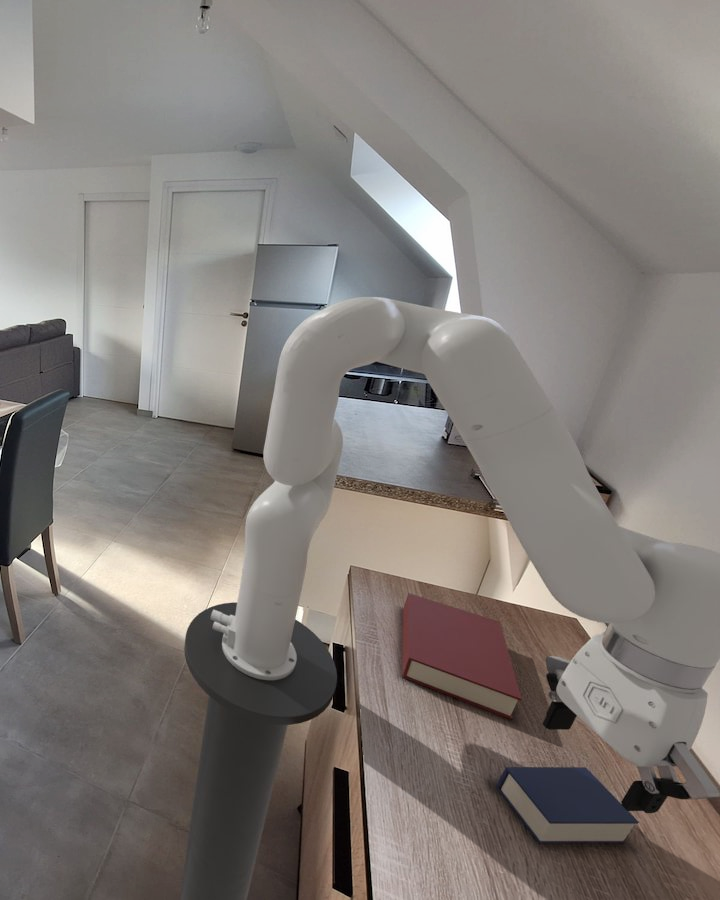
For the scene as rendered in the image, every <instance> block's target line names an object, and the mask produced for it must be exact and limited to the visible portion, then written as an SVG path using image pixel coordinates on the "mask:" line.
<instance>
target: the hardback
mask: <svg viewBox="0 0 720 900" xmlns="http://www.w3.org/2000/svg"><path fill="white" fill-rule="evenodd" d="M401 641H402V649H401V651H402V653H401V655H402V656H401V659H402V660H401V661H402V662H401V666H402V667H401V668H402V669H401V678H403V679H405V680H408V681H409V682H412V683H416V684H418V685H420V686H422V687H426V688H427V689H430V690H433V691H436V692H438V693H441V694H444V695H446V696H449V697H451V698H454V699H456V700H459V701H461V702H464V703H467V704H470V705H472V706H475V707H477V708H479V709H482V710H484V711H488V712H489V713H492V714H495V715H498V716H501V717H502V718H504V719H508V720H510V721H513V712H514V709H515V708H516V706H517V703H518V701H520V702H522V700H523V698H522V694H521V690H520V687H519V684H518V681H517V680H518V679H517V677H516V674H515V669H514V665H513V662H512V659H511V656H510V653H509V648H508V645H507V642H506V638H505V634H504V631H503V628H502V624H501V621H499V620H496V619H493V618H490V617H486V616H484V615H480V614H477V613H473V612H471V611H467V610H464V609H461V608H457V607H454V606H451V605H449V604H445V603H442V602H438V601H435V600H432V599H429V598H425V597H422V596H419V595H415V594H412V593H407V596H406V599H405V602H404V606H403V609H402V639H401Z"/></svg>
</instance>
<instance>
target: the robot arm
mask: <svg viewBox="0 0 720 900" xmlns="http://www.w3.org/2000/svg"><path fill="white" fill-rule="evenodd" d="M279 355H280V356H279V358H278V359H279V360H278V364H277V370H276V376H275V382H274V389H273V395H272V398H271V399H272V400H271V404H270V410H269V415H268V416H269V417H268V423H267V429H266V433H265V442H264V445H263V451H262V453H263V463H264V467H265V469H266V472H267V474H269V476H270V477H271V478H272V479H273V480H274V482H273V483H272V484H270V486H268V487H267V488H266V489H265V490H264V491H263V492H262V493H261V494H260V495H259V496H258V497H257V498H256V499H255V500H254V501H253V504H252V505H251V506H250V508H249V511H248V512H247V514H246V519H245V527H244V531H245V532H244V534H245V537H244V538H245V542H244V543H245V544H244V555H243V563H242V568H241V569H242V570H241V577H240V583H239V589H238V596H237V601H236V602H237V607H236V614H235V616H233V615H230V616H228V615H225V614H223V613H221V612H219V611H216V610H213V611H212V614H211V620H213V621H215V622H214V624H213V628H212V629H214V630H216V631H219V632H222V633H224V635H223V638H222V649H223V652H224V654H225V656H226V658H227V659H228V661H229V662H230V663H231V664H232V665H233V666H234V667H236V668H237V669H238V670H239V671H241V672H243V673H244V674H246V675H249V676H251V677H254V678H257V679H262V680H278V679H282V678H285V677H287V676H288V675H290V674H291V673H292V671H293V670H294V668H295V665H296V660H297V655H296V651H295V648H294V646H293V645H292V643H291V642H290V641H291V637H292V632H293V628H294V623H295V619H296V618H297V613H298V609H299V605H300V600H301V596H302V590H303V585H304V580H305V575H306V571H307V566H308V565H307V563H308V554H309V549H310V546H311V542H312V539H313V536H314V534H315V533H316V531H317V529H319V526H320V524H321V523H322V521H323V520H324V518H325V517H326V514H327V513H328V512H329V511H328V510H329V509H330V506H331V502H332V499H333V493H334V489H335V485H336V481H337V476H338V470H339V466H340V462H341V458H342V457H341V456H342V452H343V447H344V446H343V445H344V437H343V431H342V428H341V426H340V424H339V423H338V421H336V418H335V413H336V410H337V407H338V403H339V396H340V389H341V387H340V386H341V382H342V380H343V378H344V376H345V375H346V374H347V373H348V372H350V371H351V370H354V369H356V368H361V367H365V366H369V365H371V364H374V363H376V362H377V363H380V364H385V365H388V366H391V367H396V368H398V369H402V370H407V371H411V372H414V373H418V374H423V375H424V376H425V378H426V380H427V382H428V384H429V386H430V387H431V389H432V390H433V393H434V394H435V396H436V398H437V399H438V401H439V402H440V404H441V406H442V407H443V410H445V412H446V414H447V415H448V417H449V418H450V420H451V422H452V424H453V425H454V427H455V429H456V431H457V432H458V434H459V435H460V437H461V438H462V439H461V440H462V441H463V443H464V444H465V446H466V448H467V450H468V451H469V452H470V454H471V456H472V458H473V460H474V462H475V463H476V465H477V467H478V469H479V471H480V473H481V475H482V477H483V479H484V481H485V483H486V484H487V486H488V488H489V490H490V492H491V493H492V494H493V496H494V497H495V499H496V501H497V502H498V504H499V506H500V508H501V510H502V512H503V514H504V516H505V517H506V519H507V521H508V523H509V525H510V526H511V529H512V531H513V532H514V534H515V536H516V538H517V540H518V542H519V543H520V545H521V546H522V549H523V550H524V552H525V554H526V555H527V557H528V559H529V560H530V562H531V564H532V565H533V567H534V569H535V570H536V572H537V573H538V575H539V577H540V578H541V581H542V582H543V584H544V585H545V587H546V588H547V590H548V592H549V593H550V595H551V596H552V597H553V599H554V600H556V601H557V602H558V603H559V604H560V605H561V606H562V607H564V608H565V609H566V610H567V611H568V612H571V613H572V614H574V615H577V616H578V617H580V618H583V619H586V620H588V621H592V622H596V623H600V624H601V623H602V624H603V623H604V624H605V626H606V629H605V631H604V633H603V634H600V633H599V634H598V633H597V634H595V635H593V636H592V637H591V638H590V639H589V640H587V642H586V643H584V645H582V647H581V648H580V649H579V650H578V651H577V652H576V653H575V655H573V657H572V659H571V660H570V659H567V658H564V657H561V656H556V655H547V656H546V657H545V664H546V671H547V673H546V676H545V678H546V681H547V684H548V686H549V690H550V691H549V692H548V698H549V700H550V701H551V702H550V704H549V707H548V709H547V711H546V713H545V717H544V719H543V721H542V726H543V727H544V728H545V729H546V730H550V731H551V730H552V731H553V730H554V731H557V730H558V731H559V730H561V731H563V730H565V731H566V730H567V731H568V730H570V729H571V728H572V726H573V724H574V722H575V720H576V718H577V717H578V718H579V719H580V720H581V721H582V722H583V723H584V724H585V725H586V726H588V728H590V729H591V730H592V731H593V732H594V733H595V734H596V735H597V736H598V737H599V738H601V739H602V740H603V741H604V742H605V743H606V744H607V745H608V746H609V747H610V748H611V749H612V750H614V751H615V752H616V753H617V754H618V755H619V756H620V757H622V758H623V759H624V760H626V761H627V762H629V763H630V764H632V765H634V766H635V767H636V768H637V770H638V773H639V777H640V780H633V782H632V783H631V785H630V787H629V788H628V790H627V791H626V793H625V795H624V796H623V798H622V799H621V801H620V803H621V804H622V806H623V807H624V808H625V809H626V810H627V811H629V812H644V813H645V814H655V813H658V812H659V810H660V809H661V808H662V807H663V805H664V803H665V801H666V800H667V799H668V797H670V798H673V799H678V800H700V799H701V800H704V799H712V798H719V797H720V790H719V789H718V787H717V786H716V785H715V783H714V782H713V781H712V779H711V777H709V774H707V772H706V771H705V769H704V768H703V767H702V765H701V763H699V761H698V760H697V758H696V757H695V756H694V754H693V753H692V752H691V749H692V747H693V745H694V744H695V741H696V739H697V737H698V734H699V732H700V729H701V727H702V723H703V720H704V718H705V713H706V709H707V702H708V692H707V691H706V690H705V689H704V688H703V687H704V685H705V683H707V680H708V679H709V677H710V676H711V674H712V673H713V671H714V669H715V667H716V666H717V664H718V663H719V661H720V552H719V551H715V550H712V549H709V548H706V547H701V546H697V545H693V544H688V543H687V544H686V543H681V542H680V543H679V542H670V541H669V542H668V541H665V540H662V539H658V538H655V537H653V536H649V535H646V534H642V533H640V532H637V531H634V530H631V529H628V528H625V527H623V526H621V525H619V524H618V522H617V521H616V519H615V517H614V516H613V514H612V513H611V510H610V509H609V507H608V505H607V504H606V502H605V501H604V499H603V497H602V496H601V495H602V494H600V492H599V490H598V488H597V487H596V484H595V483H594V480H593V478H592V477H591V474H590V473H589V471H588V469H587V466H586V463H585V461H584V458H583V457H582V454H581V452H580V449H579V448H578V445H577V444H576V442H575V440H574V438H573V436H572V435H571V433H570V431H569V430H568V427H567V425H565V423H564V421H563V419H562V418H561V416H560V415H559V414H558V411H557V410H556V409H555V407H554V405H553V404H552V402H551V400H550V399H549V397H548V396H547V394H546V392H545V391H544V390H543V387H542V386H541V384H540V382H538V380H537V378H536V377H535V375H534V373H533V372H532V370H531V368H530V366H529V365H528V364H527V362H526V360H525V358H524V357H523V355H522V354H521V352H520V350H519V348H518V347H517V345H516V344H515V343H514V340H513V339H512V338H511V336H510V334H509V333H508V331H507V330H506V329H505V328H504V327H503V326H502V325H501V324H500V323H499V322H497V321H495V320H494V319H492V318H489V317H486V316H482V315H477V314H470V313H463V312H457V311H451V310H445V309H440V308H435V307H431V306H426V305H421V304H415V303H411V302H407V301H402V300H397V299H392V298H387V297H380V296H360V297H353V298H349V299H345V300H341V301H339V302H336V303H334V304H331V305H329V306H326V307H324V308H322V309H319V310H318V311H316V312H315V313H313V314H311V315H310V316H308V317H307V318H305V319H304V320H303V321H302V322H301V323H299V325H297V326H296V328H295V329H294V330H293V331H292V332H291V334H290V335H289V337H288V338H287V339H286V341H285V343H284V345H283V347H282V350H281V352H280V354H279ZM296 620H297V619H296ZM217 622H218V623H217ZM220 623H222V624H224V625H227V627H226V626H224V625H222V624H220ZM654 767H656V768H657V769H656V770H657V771H658V774H659V777H657V775H656V771H655V769H654ZM674 767H677V768H678V770H679V771H680V773H681V774H682V776H683V777H684V779H685V782H680V781H679V779H678V776H677V774H676V770H675V768H674Z"/></svg>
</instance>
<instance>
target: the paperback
mask: <svg viewBox="0 0 720 900" xmlns="http://www.w3.org/2000/svg"><path fill="white" fill-rule="evenodd" d="M495 788H496V790H497V791H498V792H499V793H500V795H501V796H502V797H503V798H504V800H505V801H506V803H507V804H508V805H509V806H510V808H511V810H512V811H513V812H514V814H516V816H517V817H518V818H519V819H520V822H522V824H523V825H524V826H525V827H526V829H527V830H528V832H529V833H530V835H532V837H533V838H534V840H535V841H536V842H537V843H538V844H625V843H626V840H625V839H626V838H627V836H628V835H629V833H630V832H631V830H633V828H634V827H635V825H636V824H638V825H639V823H640V821H639V820H638V819H637V818H636V817H635V816H634V815H633V813H631V811H627V810H626V809H625V808H624V807H623V806H622V803H621V801H620V800H618V799H617V797H616V796H615V795H614V794H613V793H611V792H610V790H609V789H607V788H606V786H605V785H604V784H603V783H602V782H601V781H600V780H599V779H598V778H597V777H596V776H595V775H594V774H593V773H592V772H591V771H590V770H589V769H588V768H587V767H586V766H585V767H584V766H583V767H582V766H581V767H579V766H577V767H576V766H575V767H574V766H569V767H568V766H506V767H504V770H503V772H502V774H501V777H500V778H499V780H498V782H497V784H496V786H495Z"/></svg>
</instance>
